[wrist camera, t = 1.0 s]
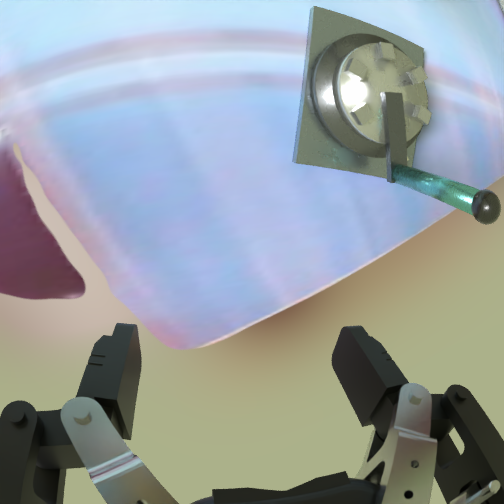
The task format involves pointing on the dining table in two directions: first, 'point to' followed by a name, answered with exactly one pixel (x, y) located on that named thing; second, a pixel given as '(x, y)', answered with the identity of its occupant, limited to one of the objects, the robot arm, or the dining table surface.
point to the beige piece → (502, 4)
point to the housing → (322, 102)
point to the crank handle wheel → (398, 121)
